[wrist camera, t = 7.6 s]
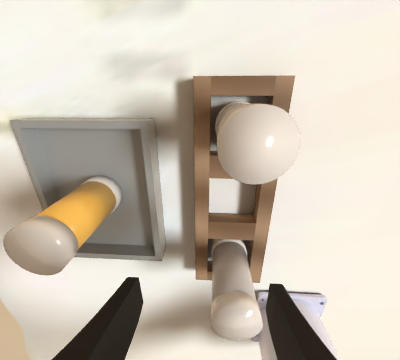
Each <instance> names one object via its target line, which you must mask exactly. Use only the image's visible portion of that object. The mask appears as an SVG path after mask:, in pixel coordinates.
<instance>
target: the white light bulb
mask: <svg viewBox="0 0 400 360" xmlns="http://www.w3.org/2000/svg"><path fill="white" fill-rule="evenodd" d="M215 131H216V135H217V152H218V158H219V161H220V163H221V166H222V167H223V169H224V170H225V171H226V173H227V174H228V175H230V176H231V177H232V178H234V179H235V180H237V181H239V182H242V183H246V184H264V183H267V182H270V181H273V180H275V179H277V178H278V177H280V176H281V175H283V174H284V173H285V172H286V171H287V170H288V169H289V168H290V167H291V166H292V164H293V163H294V161H295V159H296V157H297V155H298V152H299V148H300V132H299V129H298V126H297V124H296V122H295V121H294V119H293V118H292V117H291V115H290V114H289V113H287V112H286V111H285V110H283V109H281V108H279V107H277V106H273V105H269V104H258V103H256V104H250V103H247V102H241V101H236V102H232V103H229V104H227V105H226V106H224V107H223V108H222V109H221V110H220V112H219V113H218V115H217V118H216V121H215Z"/></svg>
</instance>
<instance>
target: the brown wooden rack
mask: <svg viewBox="0 0 400 360" xmlns="http://www.w3.org/2000/svg"><path fill="white" fill-rule="evenodd" d="M294 79H295V76H193V85H194V166H195V247H196V279H197V280H212V261H208V239H231V240H250V243H249V251H248V258H247V260H248V264H249V269H250V273H251V278H252V282H255V283H260V278H261V272H262V266H263V260H264V254H265V249H266V243H267V237H268V231H269V225H270V219H271V213H272V208H273V202H274V196H275V190H276V184H277V179H275V180H273V181H270V182H267V183H264V184H257V187H256V195H255V203H254V211H253V215H251V214H220V213H209V178H226V179H234V178H232V177H231V176H230V175H228V174H227V173H226V171H225V170H224V169H223V167H222V166H221V163H220V161H219V158H218V152H217V151H210V116H211V96H268V101H267V104H269V105H273V106H277V107H279V108H281V109H283V110H285V111H286V112H287V113H289V108H290V102H291V96H292V90H293V85H294Z"/></svg>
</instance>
